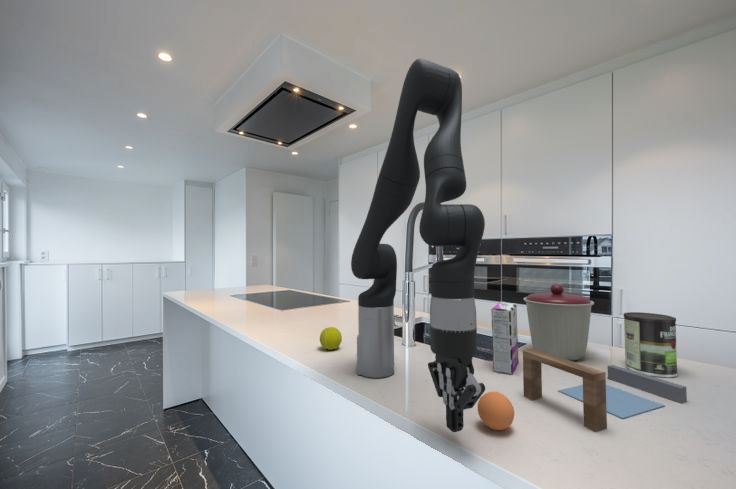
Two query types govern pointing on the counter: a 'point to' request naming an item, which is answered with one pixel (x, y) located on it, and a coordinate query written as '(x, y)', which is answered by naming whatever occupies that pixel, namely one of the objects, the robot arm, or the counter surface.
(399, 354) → the counter surface
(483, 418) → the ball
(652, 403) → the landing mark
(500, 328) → the candy bar box
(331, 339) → the tennis ball
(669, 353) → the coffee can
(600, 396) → the bridge
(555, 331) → the canister
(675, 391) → the stopper
